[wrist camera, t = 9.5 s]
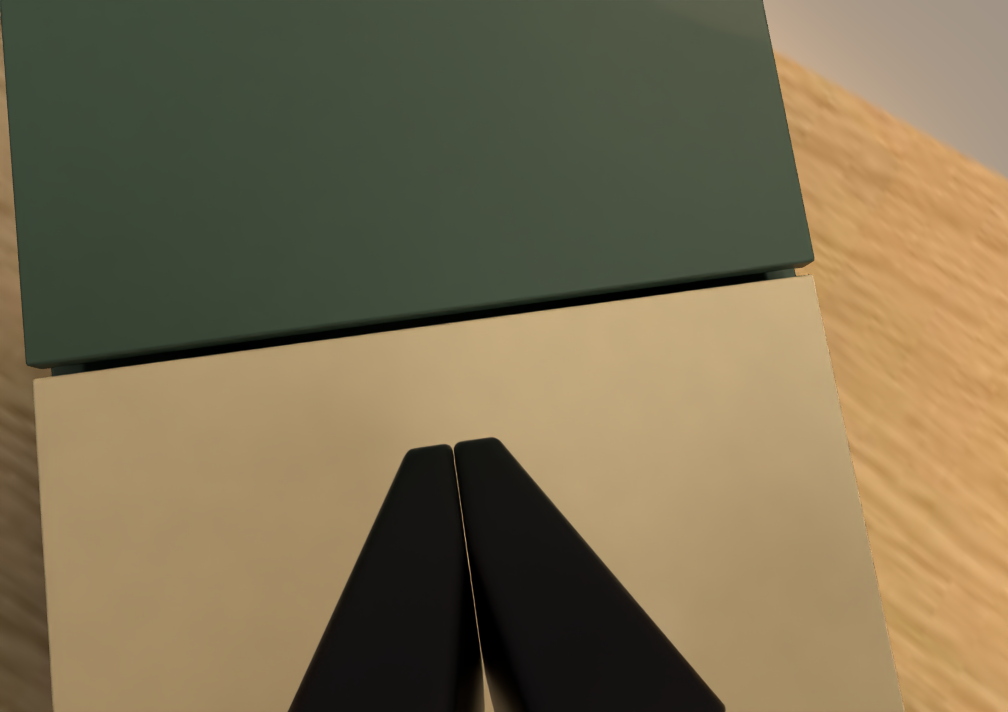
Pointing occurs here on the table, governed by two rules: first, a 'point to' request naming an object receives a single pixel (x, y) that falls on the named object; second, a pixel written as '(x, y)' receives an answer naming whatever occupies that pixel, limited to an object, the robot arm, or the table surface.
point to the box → (381, 165)
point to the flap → (448, 420)
